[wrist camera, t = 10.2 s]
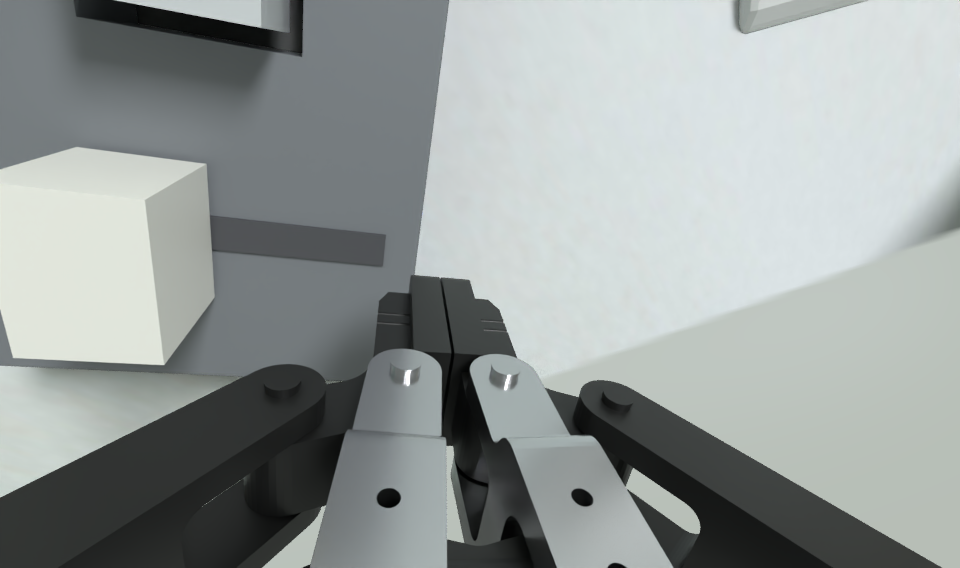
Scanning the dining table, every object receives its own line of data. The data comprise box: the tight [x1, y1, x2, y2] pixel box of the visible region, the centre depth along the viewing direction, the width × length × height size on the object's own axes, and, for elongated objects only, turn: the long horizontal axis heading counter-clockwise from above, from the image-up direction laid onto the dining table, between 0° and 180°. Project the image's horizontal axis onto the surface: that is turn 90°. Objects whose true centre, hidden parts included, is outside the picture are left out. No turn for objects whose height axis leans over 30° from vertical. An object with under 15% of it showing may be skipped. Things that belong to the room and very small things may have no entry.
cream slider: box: [0, 147, 215, 365], centre depth 12 cm, size 3×4×4 cm
